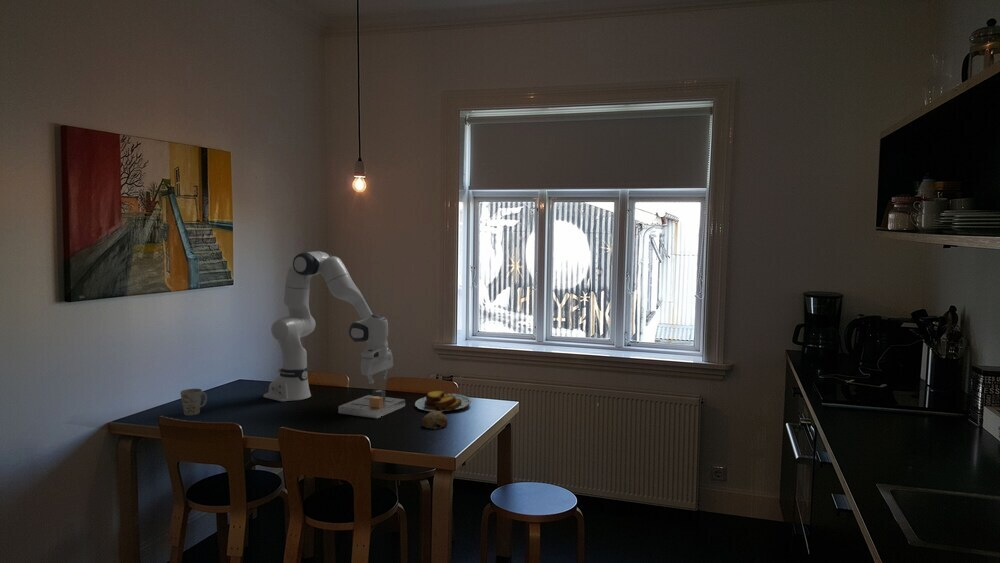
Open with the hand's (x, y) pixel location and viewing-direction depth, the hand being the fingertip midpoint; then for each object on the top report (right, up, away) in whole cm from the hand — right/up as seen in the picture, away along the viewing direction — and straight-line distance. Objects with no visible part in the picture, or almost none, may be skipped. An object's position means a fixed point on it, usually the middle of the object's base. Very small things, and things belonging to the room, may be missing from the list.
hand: (377, 381), depth 298 cm
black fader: (+1, -8, +1) cm, 8 cm away
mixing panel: (-1, -12, -4) cm, 13 cm away
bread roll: (+28, -14, -27) cm, 42 cm away
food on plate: (+29, -12, +2) cm, 32 cm away
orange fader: (+2, -9, -11) cm, 14 cm away
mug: (-77, -12, -9) cm, 79 cm away
